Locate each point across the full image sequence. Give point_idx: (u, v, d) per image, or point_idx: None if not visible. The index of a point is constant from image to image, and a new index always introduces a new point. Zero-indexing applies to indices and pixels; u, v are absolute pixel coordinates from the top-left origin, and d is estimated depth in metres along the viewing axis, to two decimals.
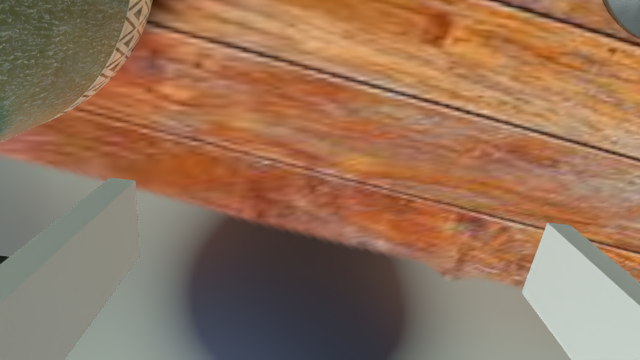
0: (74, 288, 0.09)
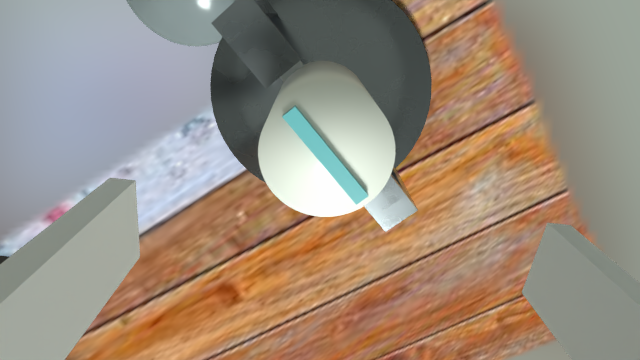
0: (74, 288, 0.09)
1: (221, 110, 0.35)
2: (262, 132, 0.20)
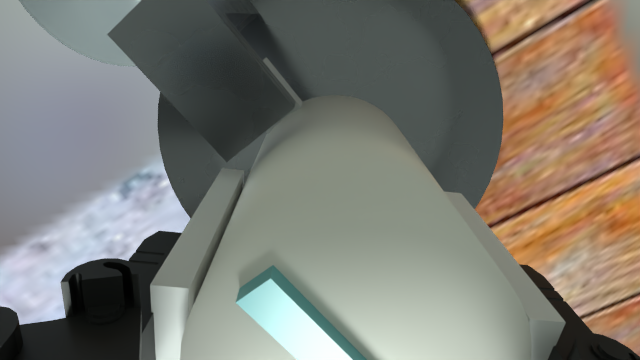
0: None
1: (175, 163, 0.23)
2: (188, 326, 0.08)
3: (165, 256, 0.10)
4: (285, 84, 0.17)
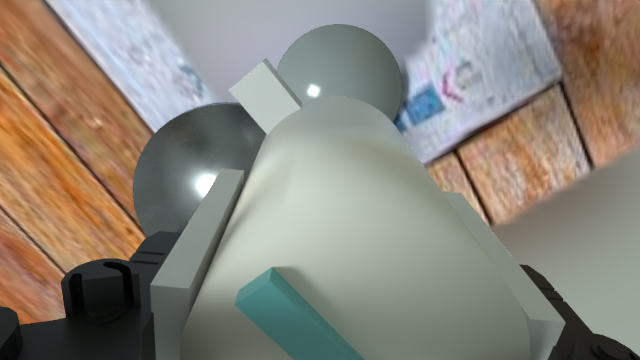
0: None
1: (213, 113, 0.35)
2: (187, 328, 0.08)
3: (165, 256, 0.10)
4: (284, 85, 0.17)
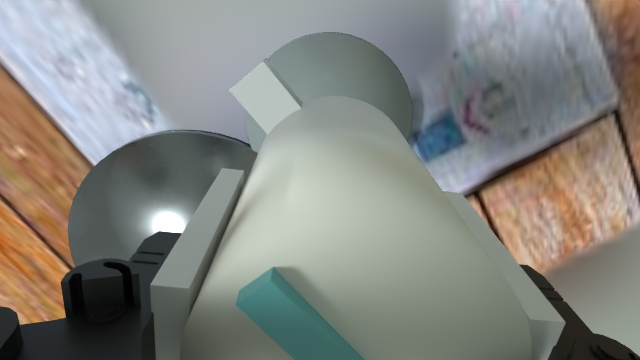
0: None
1: (167, 143, 0.27)
2: (188, 328, 0.08)
3: (165, 256, 0.10)
4: (285, 85, 0.17)
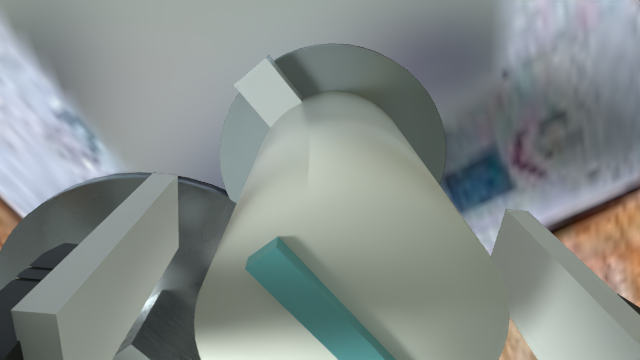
0: (132, 273, 0.10)
1: (116, 192, 0.20)
2: (202, 292, 0.09)
3: None
4: (287, 80, 0.18)
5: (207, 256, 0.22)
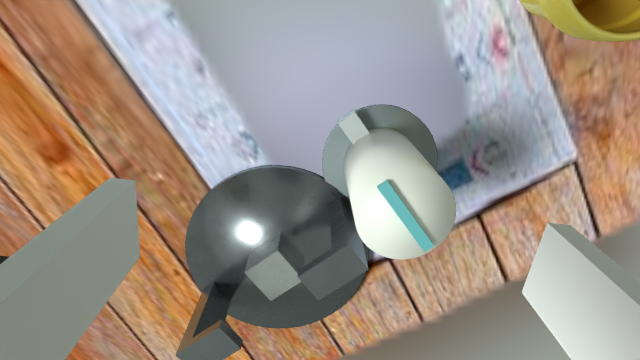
0: (74, 288, 0.09)
1: (266, 174, 0.39)
2: (360, 197, 0.27)
3: None
4: (362, 122, 0.37)
5: (308, 211, 0.40)
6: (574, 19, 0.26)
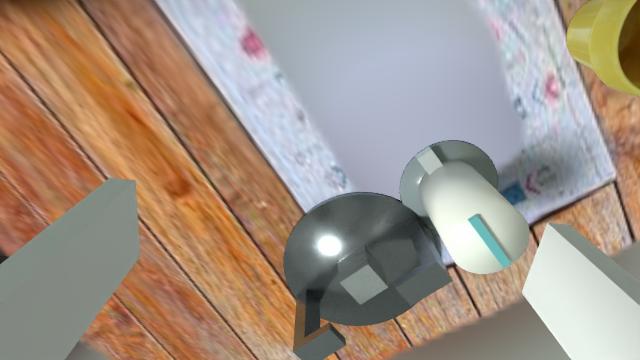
0: (74, 288, 0.09)
1: (354, 200, 0.47)
2: (454, 228, 0.35)
3: None
4: (436, 156, 0.44)
5: (387, 229, 0.48)
6: (624, 84, 0.33)
